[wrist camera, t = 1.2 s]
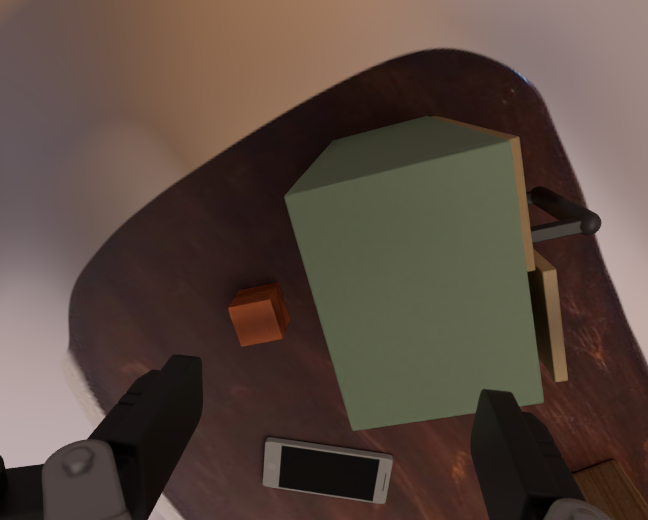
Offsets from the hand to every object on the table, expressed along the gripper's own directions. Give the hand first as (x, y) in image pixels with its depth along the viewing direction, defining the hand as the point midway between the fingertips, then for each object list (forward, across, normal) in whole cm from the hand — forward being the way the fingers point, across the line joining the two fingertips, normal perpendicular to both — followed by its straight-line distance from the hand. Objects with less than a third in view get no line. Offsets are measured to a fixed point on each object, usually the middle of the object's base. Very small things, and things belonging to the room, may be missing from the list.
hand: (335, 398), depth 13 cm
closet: (+33, -3, 0) cm, 33 cm away
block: (+33, +9, +14) cm, 37 cm away
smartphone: (+33, +1, +35) cm, 48 cm away
